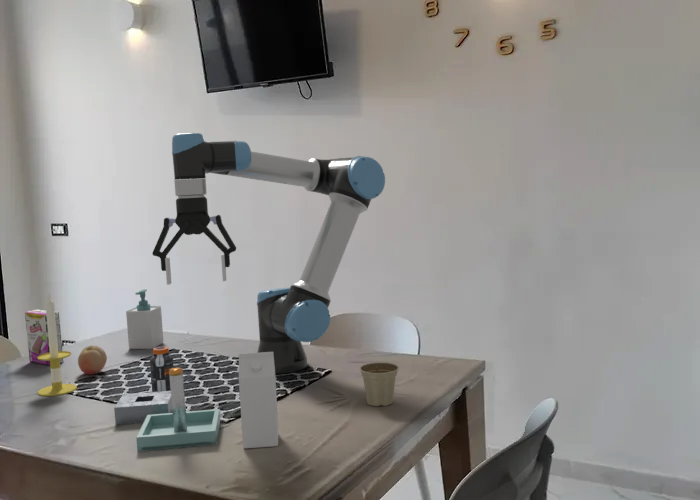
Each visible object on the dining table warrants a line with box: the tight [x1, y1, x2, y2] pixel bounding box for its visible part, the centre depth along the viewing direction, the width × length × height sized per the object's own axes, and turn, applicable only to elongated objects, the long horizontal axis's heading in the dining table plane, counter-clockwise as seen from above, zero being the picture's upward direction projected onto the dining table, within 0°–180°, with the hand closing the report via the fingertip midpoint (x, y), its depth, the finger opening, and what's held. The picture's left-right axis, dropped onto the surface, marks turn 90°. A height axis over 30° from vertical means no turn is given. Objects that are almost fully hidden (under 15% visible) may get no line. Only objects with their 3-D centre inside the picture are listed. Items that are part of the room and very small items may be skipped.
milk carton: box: [238, 352, 280, 449], centre depth 146 cm, size 7×7×19 cm
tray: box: [136, 408, 221, 452], centre depth 152 cm, size 16×14×3 cm
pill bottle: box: [149, 346, 175, 392], centre depth 187 cm, size 6×6×11 cm
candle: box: [37, 292, 78, 397], centre depth 189 cm, size 10×10×27 cm
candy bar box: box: [24, 309, 64, 366], centre depth 221 cm, size 11×5×16 cm, turn 58°
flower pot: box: [358, 362, 400, 407], centre depth 168 cm, size 9×9×9 cm
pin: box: [169, 367, 187, 433], centre depth 152 cm, size 3×3×14 cm
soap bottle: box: [125, 289, 164, 350], centre depth 237 cm, size 9×9×19 cm
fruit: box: [77, 345, 108, 376], centre depth 206 cm, size 8×8×8 cm
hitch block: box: [113, 390, 172, 426], centre depth 167 cm, size 12×10×4 cm
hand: (197, 282), depth 175 cm, fingers open, 13 cm apart
